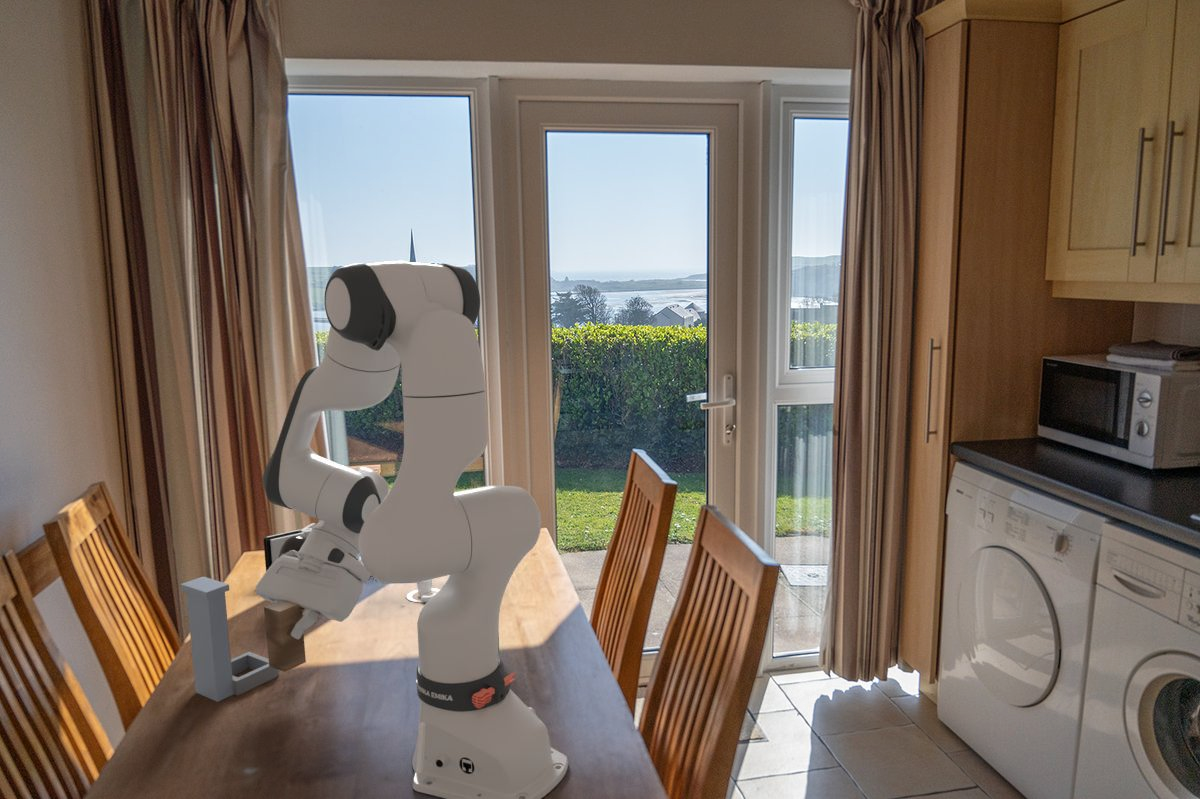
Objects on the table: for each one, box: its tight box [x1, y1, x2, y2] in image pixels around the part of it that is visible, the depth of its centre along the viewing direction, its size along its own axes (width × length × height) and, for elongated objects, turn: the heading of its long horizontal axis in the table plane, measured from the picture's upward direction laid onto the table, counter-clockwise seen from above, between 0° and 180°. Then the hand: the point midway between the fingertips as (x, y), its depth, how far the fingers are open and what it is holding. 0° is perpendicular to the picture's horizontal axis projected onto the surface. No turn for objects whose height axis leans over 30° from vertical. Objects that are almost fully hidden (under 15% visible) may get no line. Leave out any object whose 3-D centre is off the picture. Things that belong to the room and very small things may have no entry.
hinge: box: [263, 522, 317, 572], centre depth 197 cm, size 14×5×10 cm, turn 144°
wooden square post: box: [263, 600, 307, 673], centre depth 139 cm, size 4×4×10 cm
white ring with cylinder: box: [405, 579, 442, 604], centre depth 183 cm, size 9×8×4 cm
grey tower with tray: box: [180, 576, 280, 703], centre depth 145 cm, size 8×12×19 cm
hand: (281, 633), depth 139 cm, fingers closed on wooden square post, 4 cm apart
